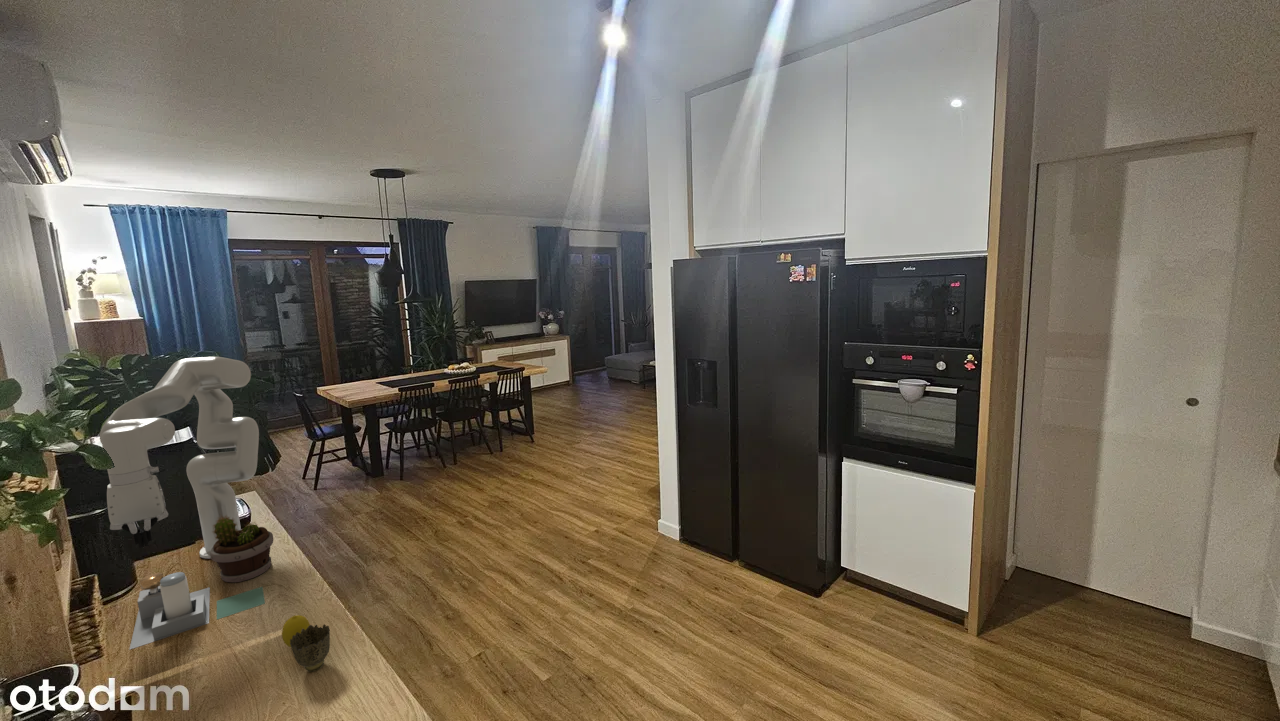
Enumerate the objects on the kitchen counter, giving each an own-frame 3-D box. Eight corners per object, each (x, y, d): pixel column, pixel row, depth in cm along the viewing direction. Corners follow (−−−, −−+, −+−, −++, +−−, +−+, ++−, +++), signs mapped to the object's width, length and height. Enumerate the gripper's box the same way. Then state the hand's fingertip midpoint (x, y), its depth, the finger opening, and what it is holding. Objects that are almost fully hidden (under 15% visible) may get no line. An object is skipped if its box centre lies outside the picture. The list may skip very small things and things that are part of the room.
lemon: (283, 658, 121) (278, 626, 119) (286, 644, 126) (281, 613, 124) (311, 650, 123) (307, 618, 122) (313, 636, 128) (309, 605, 127)
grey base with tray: (139, 612, 140) (135, 591, 139) (210, 590, 149) (206, 570, 148) (130, 653, 124) (125, 630, 123) (209, 626, 133) (205, 604, 132)
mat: (217, 604, 142) (216, 600, 142) (263, 589, 148) (262, 586, 148) (217, 623, 134) (216, 619, 134) (265, 606, 140) (265, 603, 140)
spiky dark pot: (341, 655, 121) (337, 624, 120) (319, 680, 114) (314, 646, 113) (310, 654, 122) (306, 622, 121) (286, 679, 115) (281, 645, 113)
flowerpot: (283, 557, 165) (274, 495, 162) (269, 583, 151) (258, 517, 148) (227, 567, 160) (216, 504, 157) (206, 595, 146) (194, 527, 143)
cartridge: (168, 620, 134) (159, 576, 132) (194, 612, 137) (186, 569, 135) (167, 630, 130) (158, 585, 128) (193, 622, 133) (185, 577, 131)
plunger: (145, 600, 139) (140, 577, 138) (168, 593, 142) (163, 570, 140) (143, 608, 135) (139, 584, 134) (166, 601, 138) (162, 578, 137)
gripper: (171, 464, 140) (184, 530, 143) (91, 479, 131) (106, 549, 134) (169, 472, 134) (182, 540, 137) (85, 489, 125) (101, 561, 128)
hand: (144, 544), depth 136 cm, fingers closed
